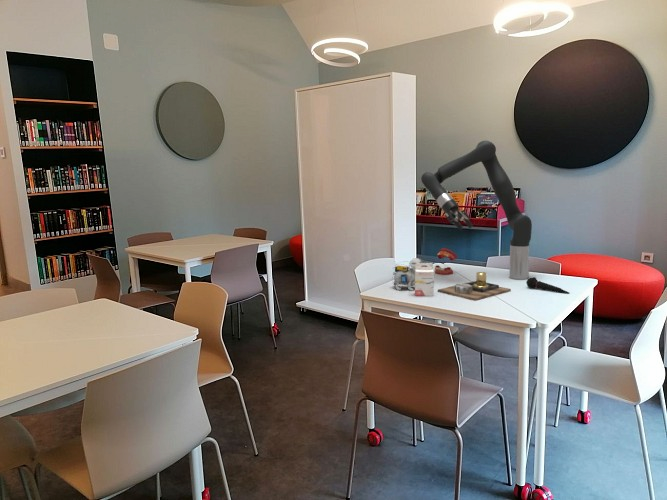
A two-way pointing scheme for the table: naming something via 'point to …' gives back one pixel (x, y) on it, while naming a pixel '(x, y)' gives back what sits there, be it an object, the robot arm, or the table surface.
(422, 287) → the ink cartridge box
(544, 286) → the microphone
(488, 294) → the carrier plate
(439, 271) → the anatomical model
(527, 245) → the robot arm
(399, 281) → the robotic toy
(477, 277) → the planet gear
